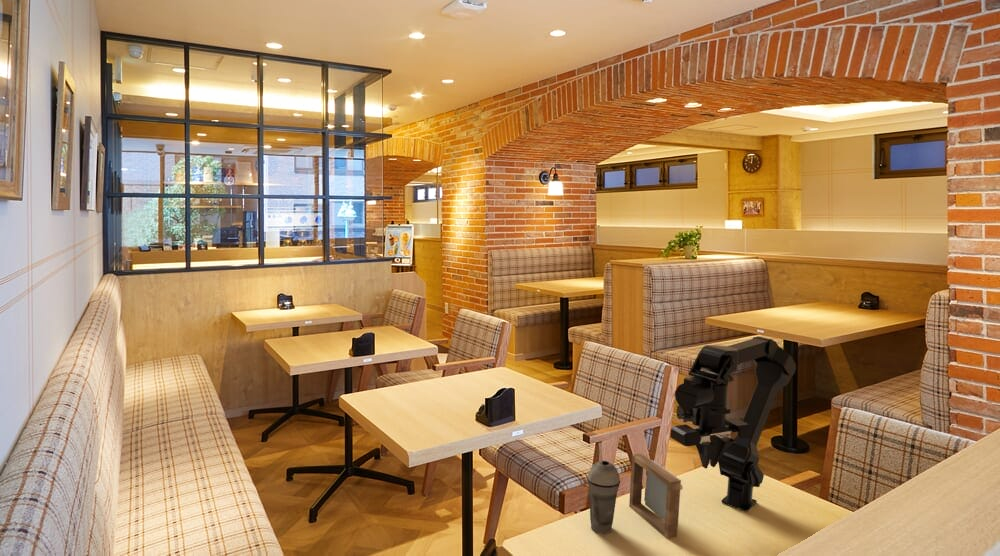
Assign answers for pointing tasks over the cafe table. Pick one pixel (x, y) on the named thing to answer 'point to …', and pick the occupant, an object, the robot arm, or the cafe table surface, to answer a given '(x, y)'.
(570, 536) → the cafe table surface
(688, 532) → the cafe table surface
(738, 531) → the cafe table surface
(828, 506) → the cafe table surface
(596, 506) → the beverage cup
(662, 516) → the cabinet door
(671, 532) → the cabinet frame
